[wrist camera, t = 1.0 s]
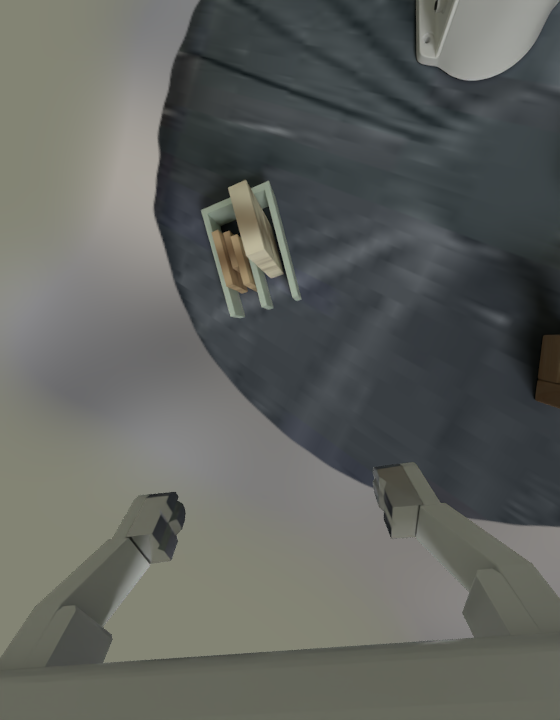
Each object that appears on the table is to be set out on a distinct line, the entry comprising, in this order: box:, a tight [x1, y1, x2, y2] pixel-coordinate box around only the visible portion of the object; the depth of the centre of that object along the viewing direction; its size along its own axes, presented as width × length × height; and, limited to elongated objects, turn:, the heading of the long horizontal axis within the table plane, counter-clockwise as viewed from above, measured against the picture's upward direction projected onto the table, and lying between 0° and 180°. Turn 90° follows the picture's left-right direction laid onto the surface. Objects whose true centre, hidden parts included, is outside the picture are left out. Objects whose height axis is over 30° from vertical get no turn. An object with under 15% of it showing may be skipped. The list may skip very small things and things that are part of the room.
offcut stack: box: [211, 230, 257, 293], centre depth 42 cm, size 10×4×8 cm, turn 15°
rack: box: [201, 181, 302, 318], centre depth 43 cm, size 19×13×5 cm, turn 15°
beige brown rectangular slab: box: [228, 180, 284, 278], centre depth 38 cm, size 9×3×14 cm, turn 15°
